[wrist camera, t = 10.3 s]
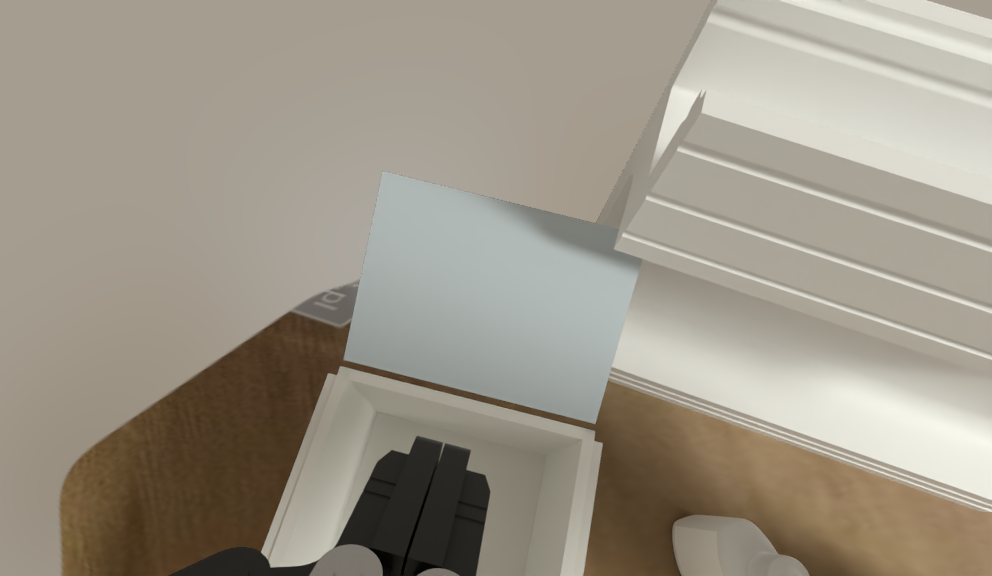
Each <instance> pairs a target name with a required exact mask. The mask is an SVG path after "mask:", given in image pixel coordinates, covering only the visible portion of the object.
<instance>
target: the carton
mask: <svg viewBox="0 0 992 576" xmlns="http://www.w3.org/2000/svg"><path fill="white" fill-rule="evenodd" d="M416 436H421V437H425V438H428V439H432V440H436V441H440V442H443V446H442V450H441V454H442V451H443V448H444V445H445V443H447V444H451V445H455V446H459V447H462V448H466V449H470V450H471V453H470V457H469V461H468V465H467V469H466V470H469V471H472V472H476V473H480V474H483V475H486V479H487V482H488V485H489V488H490V498H489V504H488V509H487V515H486V521H485V527H484V532H483V538H482V544H481V550H480V555H479V561H478V567H477V573H476V576H583V574H584V567H585V560H586V553H587V547H588V540H589V533H590V526H591V520H592V513H593V506H594V499H595V493H596V486H597V479H598V472H599V466H600V459H601V452H602V446H603V443H600V442H596V441H594V438H595V431H593V430H589V429H585V428H582V427H578V426H574V425H570V424H566V423H562V422H558V421H554V420H550V419H546V418H542V417H538V416H534V415H531V414H527V413H523V412H519V411H515V410H511V409H507V408H503V407H499V406H495V405H491V404H487V403H483V402H480V401H476V400H472V399H468V398H464V397H460V396H456V395H452V394H448V393H444V392H440V391H436V390H432V389H429V388H425V387H421V386H417V385H413V384H409V383H405V382H401V381H397V380H393V379H389V378H385V377H381V376H378V375H374V374H370V373H366V372H362V371H358V370H354V369H350V368H346V367H342V366H340V368H339V371H338V374H337V375H334V374H330V373H328V375H327V378H326V381H325V383H324V386H323V389H322V391H321V394H320V397H319V399H318V402H317V405H316V407H315V410H314V413H313V415H312V418H311V421H310V423H309V426H308V429H307V431H306V434H305V437H304V439H303V442H302V445H301V447H300V450H299V453H298V455H297V458H296V461H295V463H294V466H293V469H292V471H291V474H290V477H289V479H288V482H287V485H286V487H285V490H284V493H283V495H282V498H281V501H280V503H279V506H278V509H277V511H276V514H275V517H274V519H273V522H272V525H271V527H270V530H269V533H268V535H267V538H266V541H265V543H264V546H263V549H262V551H261V553H262V554H263V555H264V556H265V557H266V558H267V559H268V561H269V563H270V567H290V566H302V565H306V564H310V563H312V562H315V561H317V560H319V559H320V558H321V557H322V556H323V555H324V554H325V553H327V552H328V551H329V550H331V549H333V548H334V547H335V545H336V544H337V542H338V540H339V538H340V536H341V534H342V532H343V530H344V528H345V526H346V524H347V522H348V520H349V518H350V516H351V514H352V512H353V510H354V508H355V506H356V504H357V502H358V500H359V498H360V496H361V494H362V493H363V490H364V488H365V486H366V484H367V482H368V480H369V478H370V475H371V473H372V471H373V469H374V467H375V465H376V463H377V461H378V460H380V459H381V458H382V457H383V456H385V455H386V454H387V453H389V452H390V451H391V450H394V451H398V452H402V453H405V454H409V453H410V450H411V448H412V445H413V443H414V441H415V438H416ZM440 457H441V455H440ZM439 460H440V459H439Z"/></svg>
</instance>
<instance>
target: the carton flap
mask: <svg viewBox="0 0 992 576" xmlns="http://www.w3.org/2000/svg"><path fill="white" fill-rule="evenodd" d="M618 232H619V229H616V228H612V227H608V226H604V225H600V224H596V223H592V222H588V221H584V220H580V219H576V218H572V217H568V216H563V215H560V214H555V213H551V212H547V211H543V210H539V209H535V208H531V207H527V206H523V205H519V204H515V203H511V202H507V201H503V200H499V199H495V198H491V197H486V196H482V195H478V194H474V193H470V192H466V191H462V190H458V189H454V188H450V187H446V186H442V185H437V184H434V183H429V182H426V181H421V180H417V179H413V178H409V177H405V176H401V175H397V174H393V173H389V172H385V171H382V176H381V181H380V186H379V190H378V195H377V200H376V205H375V210H374V215H373V220H372V224H371V229H370V234H369V239H368V244H367V249H366V253H365V258H364V263H363V268H362V273H361V277H360V282H359V287H358V292H357V297H356V302H355V306H354V311H353V316H352V321H351V326H350V331H349V335H348V340H347V345H346V350H345V355H344V360H346V361H350V362H354V363H358V364H362V365H366V366H369V367H373V368H377V369H381V370H385V371H389V372H393V373H397V374H401V375H405V376H409V377H413V378H417V379H421V380H424V381H428V382H432V383H436V384H440V385H444V386H448V387H452V388H456V389H460V390H464V391H468V392H472V393H475V394H479V395H483V396H487V397H491V398H495V399H499V400H503V401H507V402H511V403H515V404H519V405H523V406H527V407H530V408H534V409H538V410H542V411H546V412H550V413H554V414H558V415H562V416H566V417H570V418H574V419H578V420H582V421H585V422H589V423H593V424H595V423H596V420H597V416H598V413H599V409H600V406H601V402H602V399H603V395H604V392H605V388H606V385H607V381H608V378H609V374H610V371H611V368H612V364H613V361H614V357H615V354H616V350H617V347H618V343H619V340H620V336H621V333H622V329H623V326H624V322H625V319H626V315H627V312H628V308H629V305H630V301H631V298H632V294H633V291H634V287H635V284H636V280H637V277H638V273H639V270H640V266H641V263H642V259H641V258H638V257H635V256H632V255H629V254H626V253H624V252H621V251H618V250H615V249H614V246H615V242H616V239H617V235H618Z"/></svg>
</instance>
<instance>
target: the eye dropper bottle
mask: <svg viewBox="0 0 992 576" xmlns="http://www.w3.org/2000/svg"><path fill="white" fill-rule="evenodd" d="M672 540H673V549H674V554H675V559H676V562H677V565H678V568H679V571H680V573H681V575H682V576H810V575H809V573H808V571H807V569H806V568H805V567H804V566H803V565H802V563H800V562H799V561H798V560H797V559H795V558H793V557H790V556H786V555H781V554H778V553H777V551H776V550H775V548H774V547H773V545H772V544H771V542H770V541H769V540H768V538H767V537H766V536H765V535H764V534H763V532H762V531H761V530H760V529H759V528H758V527H757V526H756V525H755V524H754V523H752V522H751V521H749V520H747V519H742V518H733V517H722V516H709V515H691V516H688V517H684V518H681V519H678V520H677V521H676V522H674V525H673V529H672Z"/></svg>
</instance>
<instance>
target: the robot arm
mask: <svg viewBox="0 0 992 576" xmlns="http://www.w3.org/2000/svg"><path fill="white" fill-rule="evenodd" d="M442 446H443V442H440V441H436V440H432V439H428V438H425V437H421V436H416V438H415V441H414V443H413V445H412V448H411V450H410V453H409V454H405V453H402V452H398V451H394V450H391V451H390V452H389V453H387V454H386V455H385V456H383V457H382V458H381V459H380V460H378V461H377V463H376V465H375V467H374V469H373V471H372V473H371V475H370V478H369V480H368V482H367V484H366V486H365V488H364V490H363V493H362V494H361V496H360V498H359V500H358V502H357V504H356V506H355V508H354V510H353V512H352V514H351V516H350V518H349V520H348V522H347V524H346V526H345V528H344V530H343V532H342V534H341V536H340V538H339V540H338V542H337V544H336V545H335V547H334V548H333V549H331V550H329V551H328V552H327V553H325V554H324V555H323V556H322V557H321V558H320V559H319V560H317V561H315V562H312V563H310V564H306V565H302V566H290V567H270V563H269V561H268V559H267V558H266V557H265V556H264V555H263V554H262V553H261V552H259V551H257V550H255V549H252V548H246V547H237V548H231V549H227V550H224V551H221V552H219V553H216V554H214V555H212V556H210V557H208V558H206V559H204V560H201V561H199V562H197V563H195V564H193V565H191V566H188V567H186V568H184V569H182V570H180V571H178V572H176V573H173V574H171V575H169V576H476V573H477V567H478V561H479V555H480V550H481V544H482V538H483V532H484V527H485V521H486V515H487V509H488V504H489V498H490V488H489V485H488V482H487V479H486V475H483V474H480V473H476V472H472V471H469V470H466V469H467V465H468V461H469V457H470V453H471V450H470V449H466V448H462V447H459V446H455V445H451V444H447V443H445V445H444V448H443V451H442V454H441V450H442ZM440 455H441V457H440ZM439 459H440V460H439Z"/></svg>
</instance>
